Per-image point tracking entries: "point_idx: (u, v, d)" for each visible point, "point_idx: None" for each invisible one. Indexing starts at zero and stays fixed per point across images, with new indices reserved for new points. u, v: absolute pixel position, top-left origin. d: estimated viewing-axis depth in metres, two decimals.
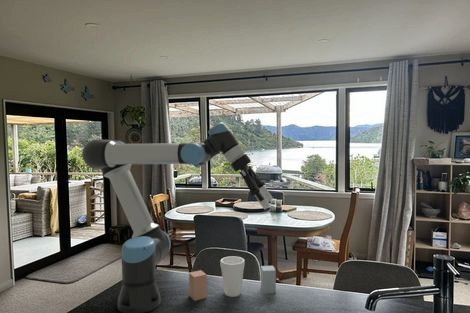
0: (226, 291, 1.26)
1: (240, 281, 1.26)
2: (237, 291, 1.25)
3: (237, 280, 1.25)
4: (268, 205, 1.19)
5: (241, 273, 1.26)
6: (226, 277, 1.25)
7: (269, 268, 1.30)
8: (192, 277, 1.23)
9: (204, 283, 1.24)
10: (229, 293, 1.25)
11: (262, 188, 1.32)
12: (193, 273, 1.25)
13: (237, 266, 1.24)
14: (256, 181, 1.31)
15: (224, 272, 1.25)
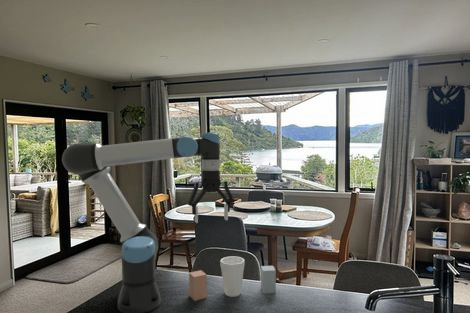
0: (226, 291, 1.26)
1: (240, 281, 1.26)
2: (237, 291, 1.25)
3: (237, 280, 1.25)
4: (195, 221, 1.34)
5: (241, 273, 1.26)
6: (226, 277, 1.25)
7: (269, 268, 1.30)
8: (192, 277, 1.23)
9: (204, 283, 1.24)
10: (229, 293, 1.25)
11: (225, 206, 1.39)
12: (193, 273, 1.25)
13: (237, 266, 1.24)
14: None
15: (224, 272, 1.25)
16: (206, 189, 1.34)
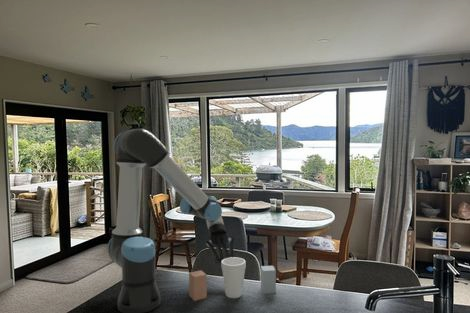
0: (227, 292, 1.25)
1: (241, 282, 1.24)
2: (238, 293, 1.24)
3: (238, 281, 1.23)
4: None
5: (242, 274, 1.24)
6: (227, 278, 1.23)
7: (269, 268, 1.30)
8: (192, 277, 1.23)
9: (204, 283, 1.24)
10: (230, 294, 1.24)
11: None
12: (193, 273, 1.25)
13: (238, 267, 1.22)
14: (224, 252, 1.39)
15: (224, 273, 1.24)
16: (218, 242, 1.40)
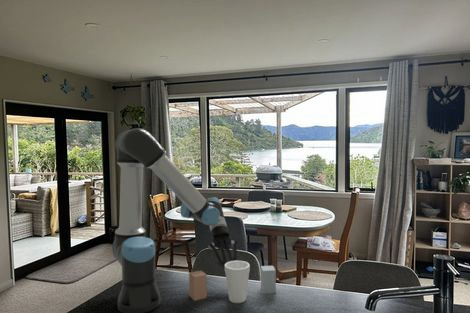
0: (230, 297, 1.21)
1: (244, 287, 1.20)
2: (241, 297, 1.20)
3: (241, 286, 1.19)
4: None
5: (245, 279, 1.20)
6: (230, 282, 1.20)
7: (269, 268, 1.30)
8: (192, 277, 1.23)
9: (204, 283, 1.24)
10: (233, 299, 1.20)
11: None
12: (193, 273, 1.25)
13: (241, 271, 1.18)
14: (227, 255, 1.36)
15: (227, 277, 1.20)
16: (221, 244, 1.37)
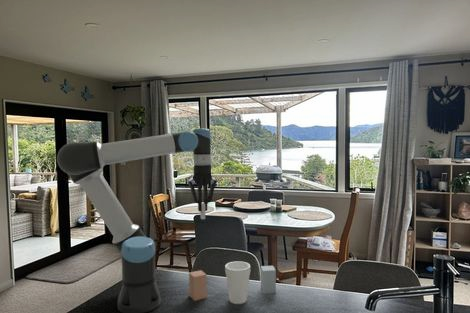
0: (230, 298, 1.20)
1: (245, 288, 1.20)
2: (242, 298, 1.19)
3: (242, 287, 1.19)
4: (201, 217, 1.41)
5: (246, 280, 1.19)
6: (230, 283, 1.19)
7: (269, 268, 1.30)
8: (192, 277, 1.23)
9: (204, 283, 1.24)
10: (233, 300, 1.19)
11: None
12: (193, 273, 1.25)
13: (241, 272, 1.18)
14: (204, 193, 1.42)
15: (228, 277, 1.20)
16: (200, 184, 1.39)
